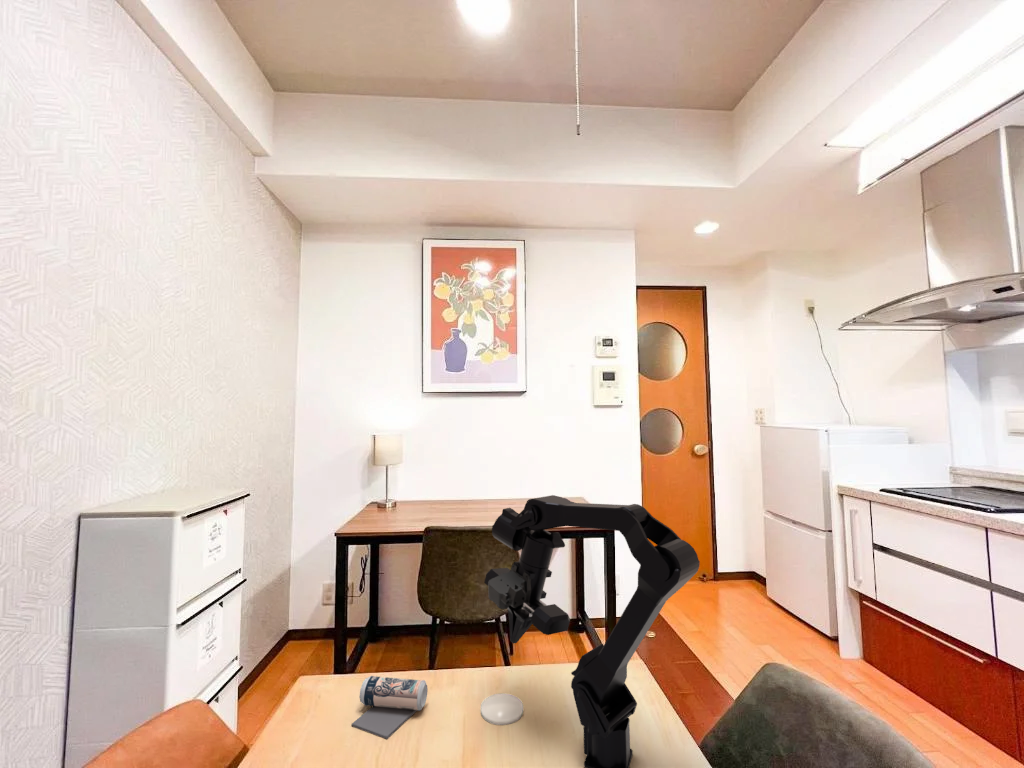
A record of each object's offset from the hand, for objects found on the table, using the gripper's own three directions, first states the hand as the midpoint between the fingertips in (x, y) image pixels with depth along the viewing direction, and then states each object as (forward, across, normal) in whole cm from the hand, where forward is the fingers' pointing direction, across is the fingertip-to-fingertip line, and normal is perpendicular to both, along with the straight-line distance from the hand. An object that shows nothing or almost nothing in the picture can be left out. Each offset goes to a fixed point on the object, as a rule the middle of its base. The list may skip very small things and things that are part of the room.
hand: (513, 642), depth 84 cm
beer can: (+14, -8, -11) cm, 19 cm away
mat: (+18, -11, -16) cm, 26 cm away
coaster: (+13, +1, +1) cm, 13 cm away
